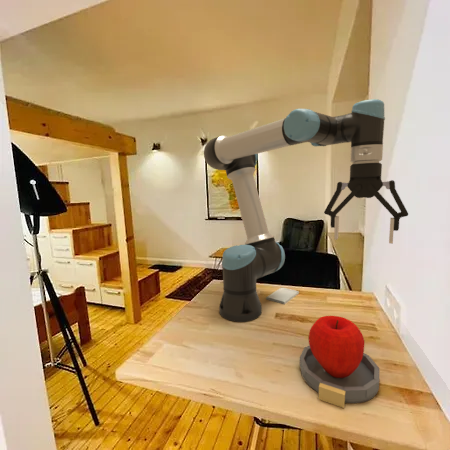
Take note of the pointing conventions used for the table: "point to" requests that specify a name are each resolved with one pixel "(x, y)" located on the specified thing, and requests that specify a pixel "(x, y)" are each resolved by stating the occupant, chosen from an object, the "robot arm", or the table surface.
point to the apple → (336, 345)
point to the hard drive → (282, 295)
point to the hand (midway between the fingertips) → (362, 240)
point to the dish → (341, 380)
